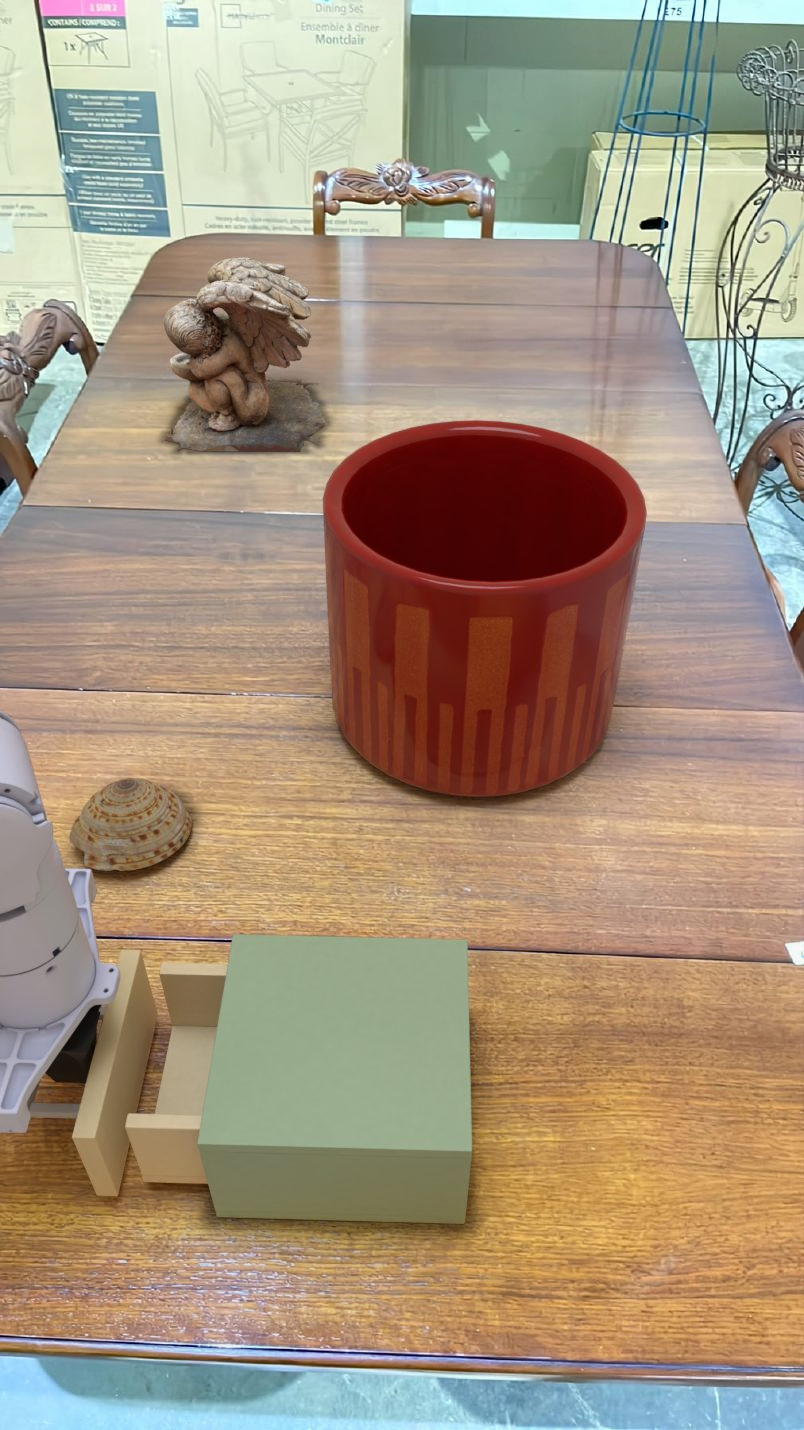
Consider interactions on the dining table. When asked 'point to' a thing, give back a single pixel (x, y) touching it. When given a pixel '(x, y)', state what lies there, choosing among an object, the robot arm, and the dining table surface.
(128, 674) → the dining table surface
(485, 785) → the planter
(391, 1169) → the cabinet
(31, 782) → the robot arm
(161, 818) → the seashell
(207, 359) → the cherub figurine
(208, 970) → the drawer
